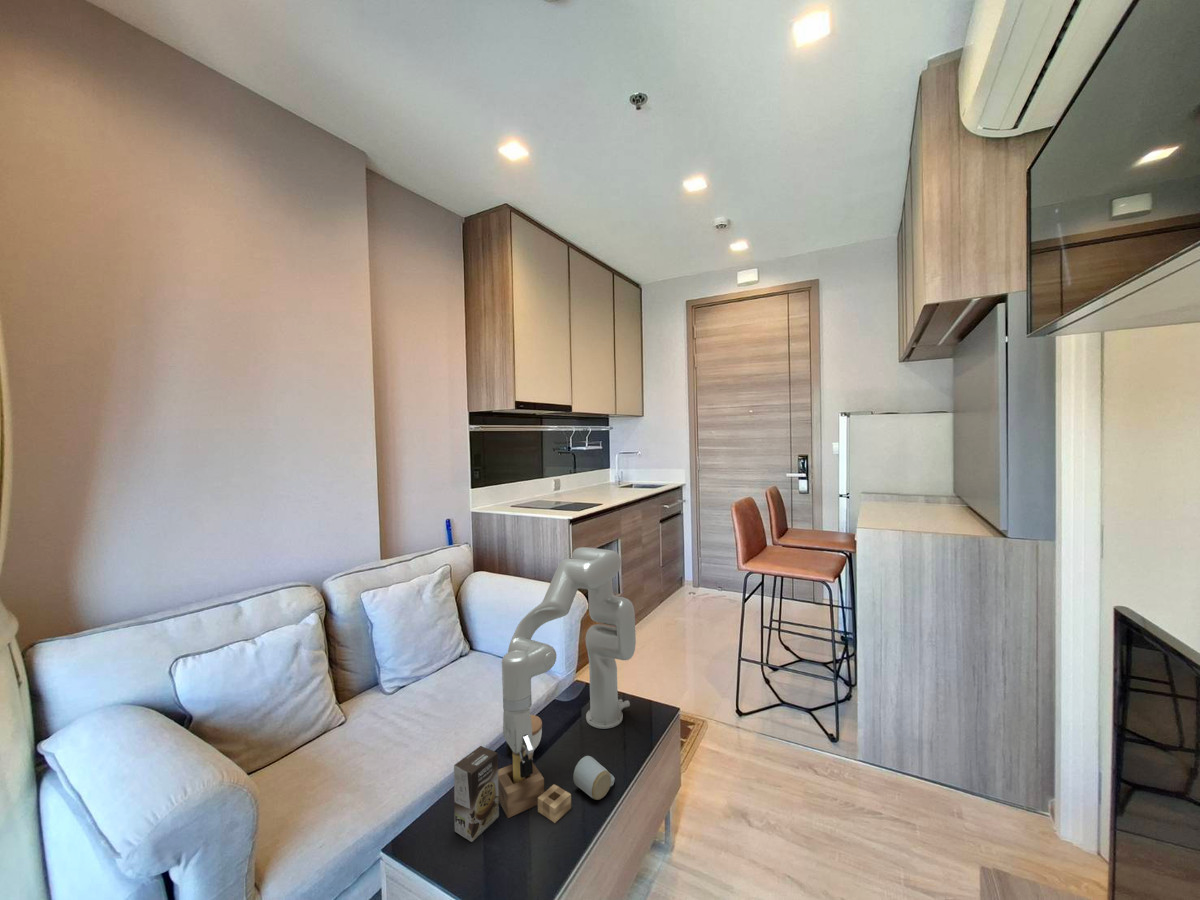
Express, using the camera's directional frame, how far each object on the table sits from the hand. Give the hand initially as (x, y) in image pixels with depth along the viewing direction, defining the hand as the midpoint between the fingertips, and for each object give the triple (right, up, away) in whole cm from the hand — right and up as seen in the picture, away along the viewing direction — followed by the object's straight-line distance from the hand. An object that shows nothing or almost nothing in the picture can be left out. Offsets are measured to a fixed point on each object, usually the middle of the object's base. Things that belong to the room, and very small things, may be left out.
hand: (519, 764), depth 121 cm
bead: (0, -9, 0) cm, 9 cm away
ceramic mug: (+20, -8, +2) cm, 22 cm away
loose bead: (+10, -8, -5) cm, 14 cm away
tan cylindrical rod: (0, -9, 0) cm, 9 cm away
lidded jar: (-2, -9, +20) cm, 22 cm away
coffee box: (-9, -9, -9) cm, 15 cm away
